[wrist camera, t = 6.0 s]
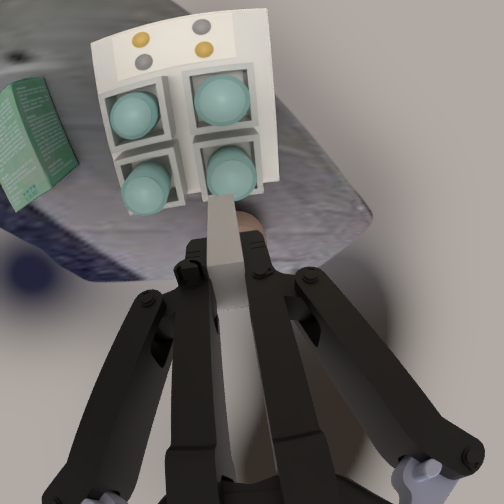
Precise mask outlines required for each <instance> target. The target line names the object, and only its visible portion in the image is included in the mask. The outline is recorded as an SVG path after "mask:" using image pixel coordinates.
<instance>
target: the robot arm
mask: <svg viewBox="0 0 504 504" xmlns="http://www.w3.org/2000/svg"><path fill="white" fill-rule="evenodd" d="M173 271H174V273H175V276H176V279H177V282H178V287H177V288H176V289H174V290H172V291H170V292H167V293H165V294H161V293H160V292H159V291H158V290H154V289H153V290H146V291H144V292H142V293H140V294H139V295H138V296H137V297H136V299H135V300H134V302H133V304H132V306H131V308H130V310H129V312H128V314H127V316H126V318H125V320H124V322H123V324H122V326H121V328H120V330H119V332H118V334H117V336H116V338H115V341H114V343H113V345H112V347H111V349H110V351H109V353H108V356H107V358H106V360H105V362H104V365H103V367H102V369H101V372H100V374H99V376H98V378H97V381H96V383H95V386H94V388H93V390H92V393H91V396H90V398H89V400H88V403H87V406H86V408H85V411H84V413H83V416H82V419H81V421H80V425H79V427H78V430H77V433H76V436H75V438H74V441H73V444H72V448H71V451H70V454H69V457H68V460H67V463H66V464H65V466H64V467H63V468H62V469H61V471H60V472H59V473H58V474H57V476H56V477H55V478H54V480H53V481H52V482H51V484H50V485H49V487H48V488H47V489H46V490H45V492H44V493H43V496H42V504H128V503H127V501H128V500H129V499H130V497H131V495H132V493H133V491H134V488H135V486H136V483H137V480H138V476H139V472H140V468H141V465H142V460H143V457H144V453H145V449H146V445H147V442H148V438H149V435H150V431H151V427H152V424H153V421H154V417H155V414H156V410H157V407H158V404H159V400H160V397H161V394H162V390H163V387H164V384H165V381H166V378H167V374H168V371H169V368H170V365H171V362H172V359H173V363H172V390H171V445H170V447H169V448H168V450H167V451H166V455H165V477H166V478H165V479H166V495H165V496H164V497H163V498H162V499H161V500H160V502H159V503H158V504H392V503H390V502H389V501H387V500H385V499H383V498H381V497H380V496H378V495H376V494H374V493H372V492H371V491H369V490H368V489H366V488H364V487H362V486H361V485H359V484H358V483H356V482H354V481H353V480H351V479H350V478H348V477H346V476H344V475H342V474H340V473H337V472H335V471H334V467H333V463H332V459H331V455H330V451H329V447H328V443H327V440H326V437H325V435H324V433H323V432H322V430H321V429H320V427H319V424H318V421H317V417H316V413H315V409H314V406H313V402H312V398H311V394H310V390H309V387H308V383H307V379H306V375H305V372H304V368H303V364H302V361H301V357H300V353H299V350H298V346H297V343H296V339H295V336H294V332H293V329H292V325H291V321H290V320H294V322H295V324H296V325H297V327H298V329H299V330H300V331H301V333H302V335H303V336H304V338H305V339H306V341H307V343H308V344H309V346H310V347H311V349H312V350H313V352H314V353H315V355H316V357H317V358H318V360H319V361H320V363H321V364H322V366H323V367H324V369H325V370H326V372H327V374H328V375H329V377H330V378H331V380H332V381H333V383H334V384H335V386H336V388H337V389H338V390H339V392H340V394H341V395H342V397H343V398H344V400H345V401H346V403H347V404H348V406H349V408H350V409H351V411H352V412H353V414H354V415H355V417H356V418H357V420H358V422H359V423H360V425H361V426H362V428H363V429H364V431H365V432H366V434H367V436H368V437H369V439H370V440H371V442H372V443H373V445H374V446H375V448H376V449H377V451H378V452H379V453H380V455H381V456H382V457H383V458H384V459H385V460H386V461H387V462H388V463H389V464H390V465H391V466H392V467H394V468H395V470H394V471H393V473H392V477H391V482H392V485H393V487H394V489H395V490H396V491H397V492H398V494H399V497H400V499H399V504H443V503H444V502H445V500H446V499H447V497H448V496H449V494H450V493H451V491H452V490H453V488H454V486H455V485H456V483H457V482H458V480H459V479H460V478H463V477H466V476H469V475H472V474H474V473H475V472H476V471H477V470H478V469H479V468H480V466H481V465H482V463H483V460H484V457H485V449H484V446H483V444H482V443H481V442H480V441H479V440H478V439H477V438H475V437H473V436H472V435H470V434H468V433H467V432H465V431H464V430H462V429H460V428H459V427H457V426H456V425H454V424H452V423H451V422H449V421H448V420H446V419H445V418H443V417H442V416H441V415H440V414H439V412H438V411H437V410H436V408H435V407H434V406H433V404H432V403H431V402H430V400H429V399H428V398H427V396H426V395H425V394H424V392H423V391H422V390H421V388H420V387H419V386H418V384H417V383H416V382H415V381H414V379H413V378H412V377H411V375H410V374H409V373H408V372H407V370H406V369H405V368H404V367H403V365H402V364H401V363H400V361H399V360H398V359H397V358H396V356H395V355H394V354H393V353H392V352H391V350H390V349H389V348H388V347H387V345H386V344H385V343H384V342H383V340H382V339H381V338H380V337H379V336H378V334H377V333H376V332H375V331H374V330H373V328H372V327H371V326H370V325H369V324H368V323H367V321H366V320H365V319H364V318H363V316H362V315H361V314H360V313H359V312H358V311H357V309H356V308H355V307H354V306H353V305H352V304H351V302H350V301H349V300H348V299H347V298H346V297H345V295H344V294H343V293H342V292H341V291H340V290H339V288H338V287H337V286H336V285H335V284H334V283H333V282H332V280H330V278H329V277H328V276H327V275H326V274H325V273H324V272H323V271H322V270H321V269H319V268H316V267H304V268H301V269H300V270H298V271H297V272H296V274H295V275H290V274H283V273H280V272H278V271H277V270H275V268H274V267H273V266H272V263H271V260H270V256H269V253H268V249H267V247H266V243H265V239H264V236H263V234H262V233H261V232H260V231H258V230H252V231H245V232H239V229H238V223H237V217H236V210H235V204H234V198H233V193H232V194H225V195H218V196H211V197H208V219H207V238H201V239H194V240H191V241H190V242H189V244H188V245H187V247H186V256H185V259H184V260H182V261H180V262H179V263H178V264H177V265H176V266H175V267H174V270H173ZM244 307H249V309H250V317H251V323H252V329H253V336H254V341H255V348H256V354H257V360H258V366H259V372H260V378H261V384H262V390H263V396H264V402H265V408H266V414H267V420H268V426H269V431H270V437H271V443H272V449H273V454H274V461H275V466H276V472H277V475H276V476H273V477H271V478H268V479H265V480H263V481H260V482H257V483H254V484H242V483H237V482H236V475H235V469H234V464H233V461H232V457H231V451H230V442H229V432H228V423H227V413H226V404H225V393H224V381H223V370H222V356H221V343H220V329H219V318H218V315H217V309H218V311H222V310H229V309H237V308H244Z"/></svg>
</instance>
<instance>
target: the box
mask: <svg viewBox="0 0 504 504" xmlns="http://www.w3.org/2000/svg"><path fill="white" fill-rule="evenodd" d="M77 166H78V162H77V160H76V158H75V156H74V153H73V151H72V149H71V146H70V144H69V142H68V139H67V137H66V134H65V132H64V130H63V127H62V125H61V123H60V120H59V118H58V115H57V113H56V110H55V108H54V105H53V103H52V100H51V98H50V95H49V92H48V89H47V86H46V83H45V80H44V78H24V79H21V80H18V81H16V82H13V83H10V84H9V85H8V86H7V87H6V88H5V89H4V90H3V91H2V92H1V93H0V183H1V185H2V187H3V189H4V191H5V193H6V195H7V197H8V199H9V201H10V203H11V205H12V207H13V208H14V210H15V212H17V211H19V210H20V209H22V208H23V207H24V206H26V205H27V204H29V203H30V202H32V201H33V200H35V199H36V198H38V197H39V196H41V195H42V194H44V193H46V192H47V191H49V190H50V189H52V188H53V187H54V186H55V185H56V184H57V183H58V182H59V181H60V180H62V179H63V178H64V177H65V176H66V175H67V174H68V173H70V172H71V171H72V170H73V169H74V168H76V167H77Z"/></svg>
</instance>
